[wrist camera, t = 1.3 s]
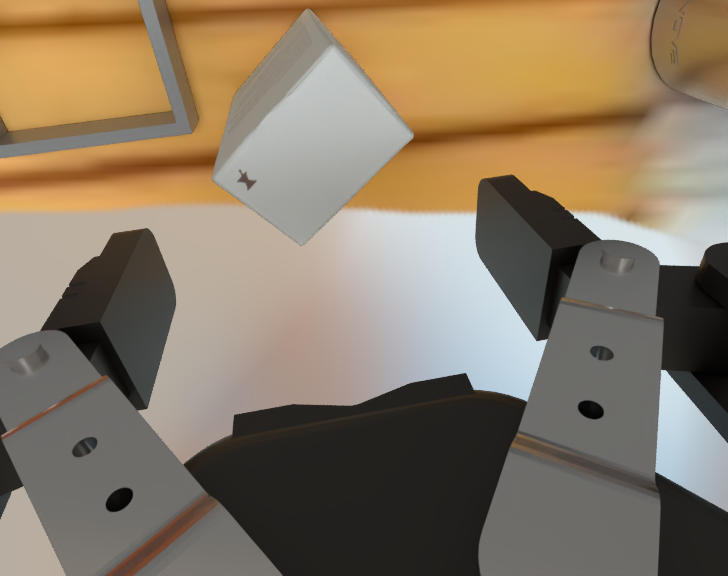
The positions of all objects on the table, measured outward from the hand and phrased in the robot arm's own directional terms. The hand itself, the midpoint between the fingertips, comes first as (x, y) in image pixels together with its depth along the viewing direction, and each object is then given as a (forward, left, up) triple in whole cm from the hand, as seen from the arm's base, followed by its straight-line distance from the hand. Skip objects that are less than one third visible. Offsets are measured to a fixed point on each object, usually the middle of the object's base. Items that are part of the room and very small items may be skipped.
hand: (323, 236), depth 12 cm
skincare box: (0, 0, -17) cm, 17 cm away
